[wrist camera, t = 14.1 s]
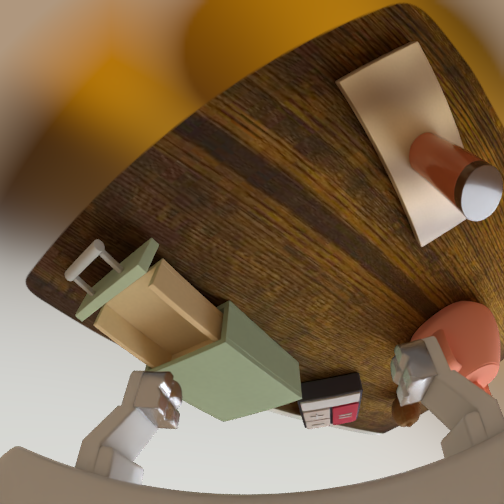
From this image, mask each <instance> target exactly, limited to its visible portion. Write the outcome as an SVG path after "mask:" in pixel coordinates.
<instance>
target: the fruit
mask: <svg viewBox="0 0 504 504" xmlns="http://www.w3.org/2000/svg"><path fill="white" fill-rule="evenodd" d="M419 416H420V404H419V402H416V403H412V404H408V405H404V406H400V403H399V399H398V397H397V398H396V399H395V400H394V402H393V404H392V417H393V419H394V421H395V423H396V424H397V425H399V426H401V427H406V426H407V427H410V426H412V425H413V424H414V423H415V422H417V420H418V419H419Z"/></svg>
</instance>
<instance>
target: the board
mask: <svg viewBox="0 0 504 504" xmlns="http://www.w3.org/2000/svg"><path fill="white" fill-rule="evenodd" d="M335 83H336V84H337V86H338V87H339V89H340V90H341V92H342V94H343V95H344V97H345V98H346V100H347V102H348V103H349V105H350V106H351V108H352V110H353V111H354V113H355V115H356V116H357V118H358V120H359V122H360V123H361V125H362V127H363V128H364V130H365V132H366V134H367V136H368V137H369V139H370V141H371V143H372V145H373V147H374V149H375V150H376V152H377V154H378V156H379V158H380V160H381V162H382V164H383V166H384V168H385V170H386V172H387V174H388V176H389V178H390V180H391V182H392V184H393V187H394V189H395V191H396V193H397V195H398V197H399V200H400V202H401V204H402V207H403V209H404V211H405V214H406V216H407V218H408V221H409V223H410V226H411V228H412V231H413V233H414V236H415V238H416V241H417V242H418V243H419V245H420V246H421V247H423V246H424V245H426V244H428V243H429V242H431V241H433V240H434V239H436V238H437V237H439V236H440V235H442V234H444V233H445V232H447V231H448V230H450V229H451V228H453V227H454V226H456V225H458V224H459V223H461V222H462V221H464V220H465V219H467V218H466V217H465V216H464V215H463V214H462V213H461V212H460V211H459V210H458V209H457V208H456V207H455V206H453V205H452V204H451V203H450V202H449V201H448V200H447V199H446V198H445V197H444V196H442V195H441V194H440V193H439V192H438V191H437V190H436V189H434V188H433V187H432V186H431V185H430V184H429V183H427V182H426V181H425V180H424V179H423V178H421V177H420V176H419V175H418V174H417V173H415V172H414V170H413V169H412V167H411V165H410V161H409V151H410V147H411V145H412V143H413V141H414V140H415V139H416V138H417V137H418V136H419V135H421V134H423V133H427V132H432V133H435V134H437V135H439V136H441V137H443V138H445V139H447V140H449V141H451V142H453V143H455V144H457V145H458V146H460V147H462V148H464V147H463V144H462V141H461V138H460V135H459V132H458V130H457V127H456V124H455V121H454V119H453V116H452V113H451V111H450V108H449V106H448V103H447V101H446V99H445V96H444V94H443V92H442V89H441V87H440V85H439V83H438V80H437V78H436V76H435V74H434V72H433V70H432V68H431V66H430V64H429V62H428V60H427V58H426V56H425V54H424V52H423V50H422V49H421V47H420V45H419V43H418V42H409V43H407V44H405V45H403V46H400V47H398V48H396V49H394V50H392V51H390V52H388V53H386V54H384V55H382V56H380V57H378V58H377V59H375V60H373V61H371V62H369V63H367V64H365V65H363V66H361V67H360V68H358V69H356V70H354V71H352V72H350V73H349V74H347V75H345V76H343V77H342V78H340V79H338V80H336V81H335Z"/></svg>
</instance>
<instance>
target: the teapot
mask: <svg viewBox="0 0 504 504" xmlns="http://www.w3.org/2000/svg"><path fill="white" fill-rule="evenodd" d="M430 336H434V337H436V339H437V341H438V343H439V345H440V347H441V349H442V352H443V354H444V356H445V358H446V360H447V363H448V365H449V367H450V369H451V371H452V370H455V371H457V372H458V373H460V374H461V375H462V376H464V377H465V378H467V379H468V380H469V381H471V382H472V383H474V384H475V385H477V386H478V387H479V388H481V389H482V390H484V391H485V392H486V393H488V394H489V395H491V393H490V390H489V387H488V384H489V383H490V382H491V381H492V380H493V379H494V377H496V375H497V373H498V371H499V365H500V336H499V331H498V327H497V324H496V321H495V319H494V316H493V315H492V313H491V311H490V310H489V309H488V308H487V307H486V306H484V305H483V304H480V303H476V302H472V301H459V302H455V303H452V304H450V305H448V306H446V307H445V308H443V309H442V310H440V311H439V312H437V313H436V314H434V315H433V316H432V317H431V318H429V319H428V320H427V321H426V322H425V323H424V324H423V325H421V326H420V327H419V328H418V330H417V331H416V332H415V333H414V335H413V336H412V338H411V340H410V341H414V340H418V339H423V338H427V337H430ZM491 396H492V395H491Z"/></svg>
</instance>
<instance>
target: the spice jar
mask: <svg viewBox="0 0 504 504" xmlns="http://www.w3.org/2000/svg"><path fill="white" fill-rule="evenodd" d="M409 161H410V165H411V167H412V169H413V170H414V172H415V173H417V174H418V175H419V176H420V177H421V178H423V179H424V180H425V181H426V182H427V183H429V184H430V185H431V186H432V187H433V188H434V189H436V190H437V191H438V192H439V193H440V194H441V195H442V196H444V197H445V198H446V199H447V200H448V201H449V202H450V203H451V204H452V205H453V206H455V207H456V208H457V209H458V210H459V211H460V212H461V213H462V214H463V215H464V216H465V217H466V218H467V219H469V220H471V221H481V220H484V219H486V218H487V217H489V216H490V215H491V214H492V213H493V212H494V211H495V209H496V208H497V206H498V204H499V202H500V199H501V196H502V192H503V181H502V177H501V174H500V173H499V171H498V170H497V169H496V168H495V167H494V166H492V165H491V164H489V163H487V162H486V161H484V160H483V159H481V158H479V157H478V156H476V155H474V154H472V153H471V152H469V151H467V150H466V149H464V148H462V147H460V146H458V145H457V144H455V143H453V142H451V141H449V140H447V139H445V138H443V137H441V136H439V135H437V134H435V133H432V132H427V133H423V134H421V135H419V136H418V137H417V138H416V139H415V140H414V141H413V143H412V145H411V147H410V151H409Z"/></svg>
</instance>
